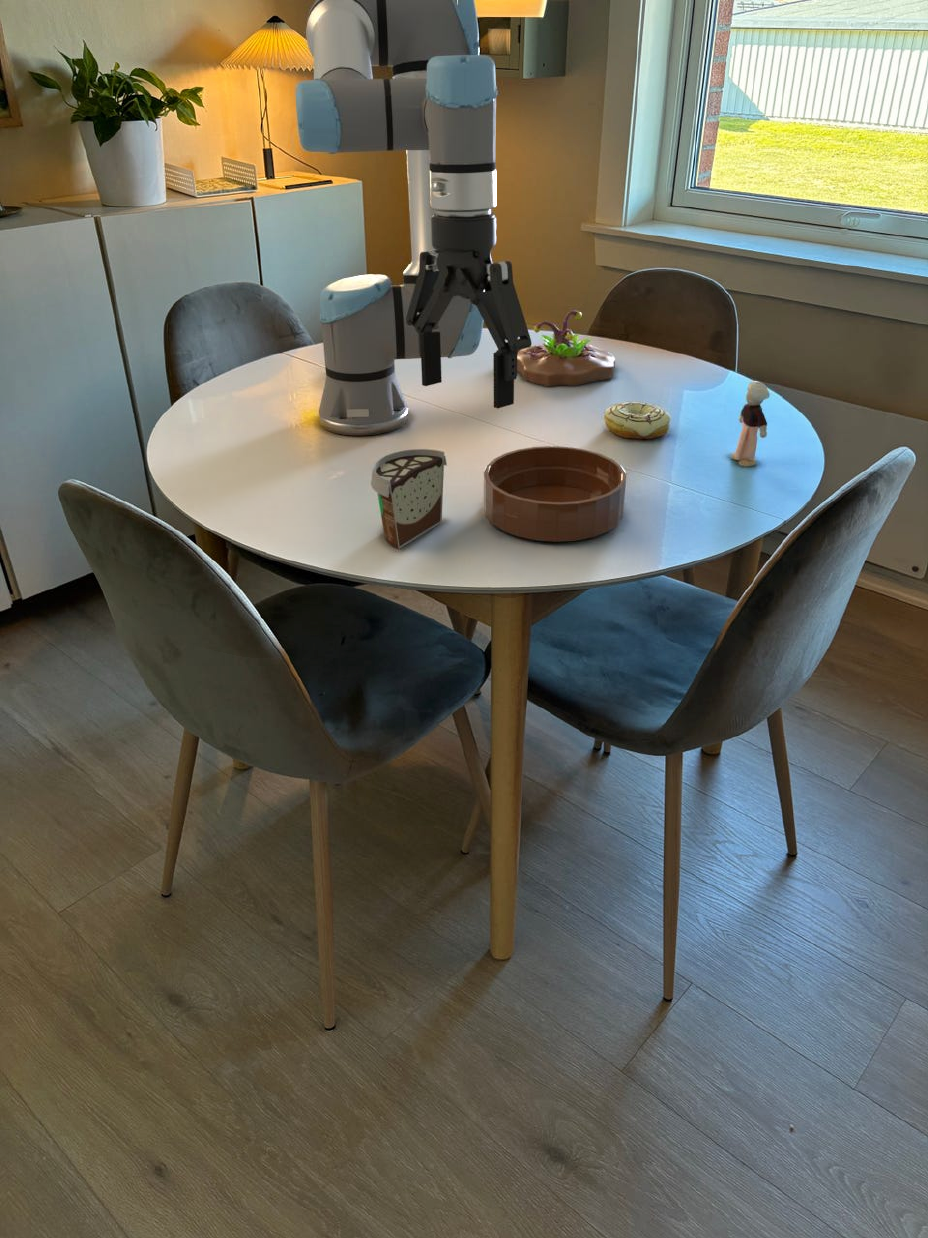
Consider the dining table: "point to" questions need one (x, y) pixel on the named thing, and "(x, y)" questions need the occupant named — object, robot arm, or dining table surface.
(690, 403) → the dining table surface
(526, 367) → the plant
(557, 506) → the bowl
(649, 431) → the decorated donut
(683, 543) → the dining table surface
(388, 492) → the food container
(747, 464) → the grandmother figurine
